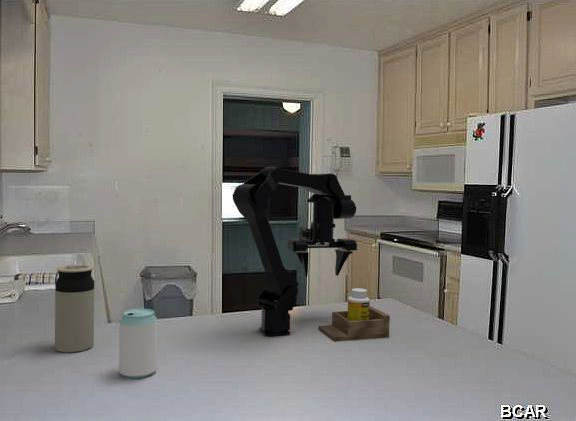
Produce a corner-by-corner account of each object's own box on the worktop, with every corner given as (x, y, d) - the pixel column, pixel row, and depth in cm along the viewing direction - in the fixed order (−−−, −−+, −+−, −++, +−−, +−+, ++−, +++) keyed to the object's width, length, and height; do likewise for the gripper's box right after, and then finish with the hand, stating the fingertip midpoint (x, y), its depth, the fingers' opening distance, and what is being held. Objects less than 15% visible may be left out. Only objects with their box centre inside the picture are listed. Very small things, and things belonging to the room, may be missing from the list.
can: (136, 382, 92) (137, 318, 91) (111, 374, 96) (111, 312, 95) (164, 371, 98) (165, 311, 97) (139, 363, 102) (140, 305, 101)
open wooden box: (334, 341, 120) (335, 318, 120) (318, 329, 130) (319, 308, 130) (389, 337, 125) (389, 315, 125) (369, 326, 135) (370, 306, 135)
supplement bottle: (361, 333, 124) (363, 293, 124) (342, 329, 128) (344, 289, 127) (372, 328, 129) (374, 289, 128) (353, 324, 132) (355, 286, 132)
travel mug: (101, 345, 113) (102, 266, 112) (72, 355, 105) (73, 271, 105) (75, 340, 116) (76, 263, 115) (46, 349, 109) (47, 268, 108)
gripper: (341, 217, 146) (340, 270, 147) (281, 217, 140) (280, 271, 141) (359, 220, 136) (357, 276, 137) (294, 219, 130) (293, 279, 131)
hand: (321, 275), depth 137 cm, fingers open, 9 cm apart
